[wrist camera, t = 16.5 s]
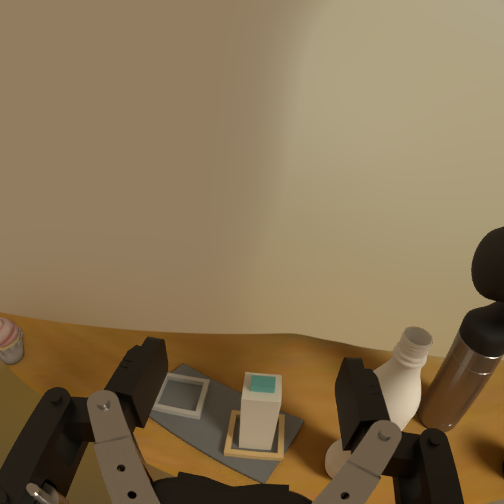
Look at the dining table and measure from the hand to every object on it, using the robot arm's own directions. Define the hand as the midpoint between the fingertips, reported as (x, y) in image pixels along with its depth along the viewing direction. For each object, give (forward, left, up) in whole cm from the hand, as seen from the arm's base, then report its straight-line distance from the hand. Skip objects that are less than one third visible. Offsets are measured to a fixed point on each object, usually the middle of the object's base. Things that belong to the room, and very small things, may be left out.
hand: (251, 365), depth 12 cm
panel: (-13, -12, -30) cm, 35 cm away
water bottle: (-14, +9, -30) cm, 35 cm away
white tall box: (-13, -5, -29) cm, 33 cm away
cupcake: (+6, -53, -30) cm, 61 cm away
